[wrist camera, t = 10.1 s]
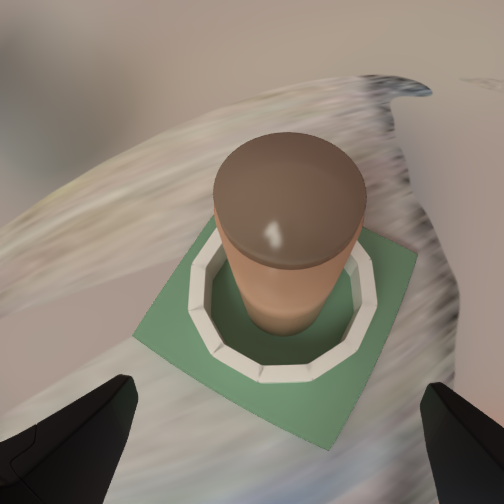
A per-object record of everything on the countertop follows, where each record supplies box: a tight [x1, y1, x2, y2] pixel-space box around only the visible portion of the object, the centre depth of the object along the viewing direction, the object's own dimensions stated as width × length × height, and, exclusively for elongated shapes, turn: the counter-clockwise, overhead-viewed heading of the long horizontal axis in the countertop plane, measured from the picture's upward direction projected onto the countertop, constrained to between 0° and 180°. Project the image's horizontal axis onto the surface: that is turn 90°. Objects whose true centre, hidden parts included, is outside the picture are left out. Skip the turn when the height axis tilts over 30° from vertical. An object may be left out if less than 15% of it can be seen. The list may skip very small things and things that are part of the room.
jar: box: [213, 132, 367, 337], centre depth 17 cm, size 6×6×13 cm
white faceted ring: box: [188, 227, 378, 383], centre depth 21 cm, size 12×12×2 cm
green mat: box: [132, 215, 418, 451], centre depth 23 cm, size 16×16×1 cm
